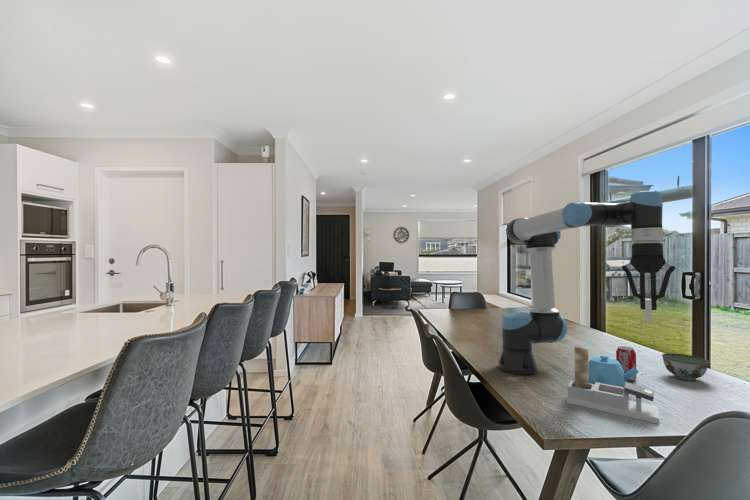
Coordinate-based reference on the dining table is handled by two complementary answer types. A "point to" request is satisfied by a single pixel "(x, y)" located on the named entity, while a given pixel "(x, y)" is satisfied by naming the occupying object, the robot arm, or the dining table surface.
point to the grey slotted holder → (611, 401)
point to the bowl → (685, 366)
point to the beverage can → (626, 359)
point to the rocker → (639, 391)
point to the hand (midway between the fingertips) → (648, 320)
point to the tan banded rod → (581, 367)
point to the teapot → (608, 371)
